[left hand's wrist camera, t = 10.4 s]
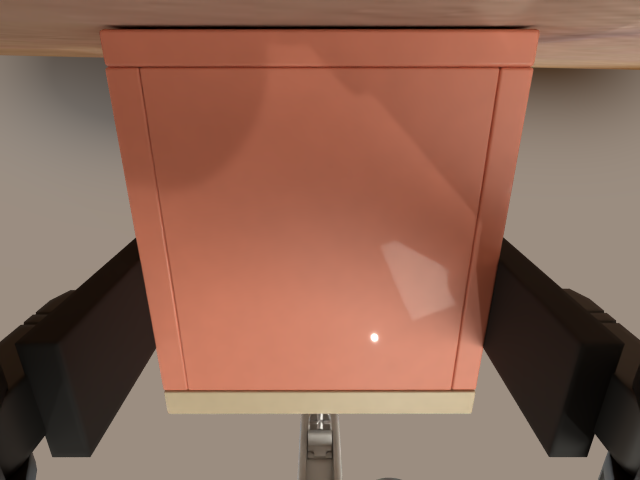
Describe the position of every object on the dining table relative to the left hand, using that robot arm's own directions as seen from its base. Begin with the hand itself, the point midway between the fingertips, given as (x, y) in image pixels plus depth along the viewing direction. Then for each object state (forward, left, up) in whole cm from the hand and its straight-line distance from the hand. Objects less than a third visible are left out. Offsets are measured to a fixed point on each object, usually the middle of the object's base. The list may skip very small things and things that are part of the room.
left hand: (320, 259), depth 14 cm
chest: (+3, -3, -7) cm, 8 cm away
